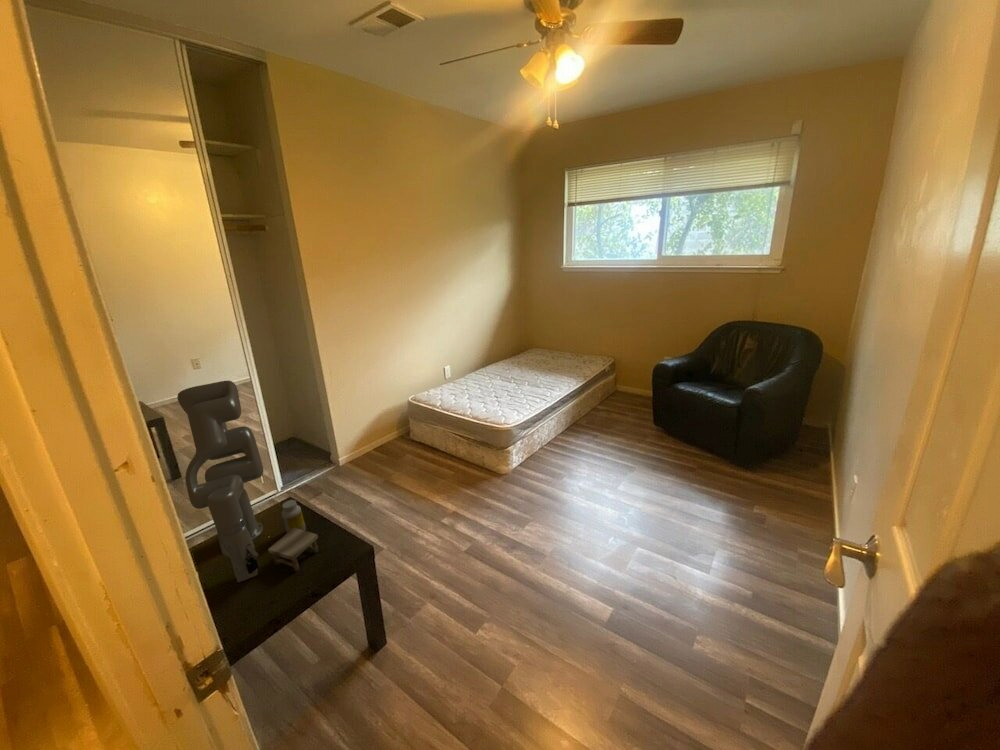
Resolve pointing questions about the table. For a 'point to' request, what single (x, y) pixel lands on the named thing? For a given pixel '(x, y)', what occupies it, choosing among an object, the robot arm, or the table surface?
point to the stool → (293, 547)
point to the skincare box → (241, 569)
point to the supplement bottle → (292, 516)
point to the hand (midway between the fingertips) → (245, 567)
